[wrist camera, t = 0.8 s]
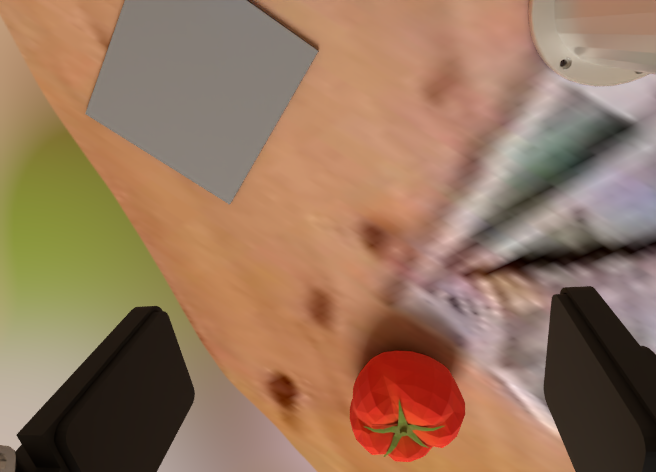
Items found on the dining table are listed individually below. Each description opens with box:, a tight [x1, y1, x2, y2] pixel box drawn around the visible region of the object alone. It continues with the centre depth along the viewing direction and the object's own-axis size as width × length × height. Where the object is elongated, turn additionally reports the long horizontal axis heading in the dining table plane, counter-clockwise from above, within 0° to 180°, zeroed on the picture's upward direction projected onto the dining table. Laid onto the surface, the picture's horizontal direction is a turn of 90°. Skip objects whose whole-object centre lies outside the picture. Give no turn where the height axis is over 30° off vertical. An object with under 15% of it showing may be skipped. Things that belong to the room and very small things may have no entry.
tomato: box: [350, 351, 465, 462], centre depth 47 cm, size 13×12×8 cm
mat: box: [86, 0, 318, 204], centre depth 39 cm, size 17×16×1 cm
